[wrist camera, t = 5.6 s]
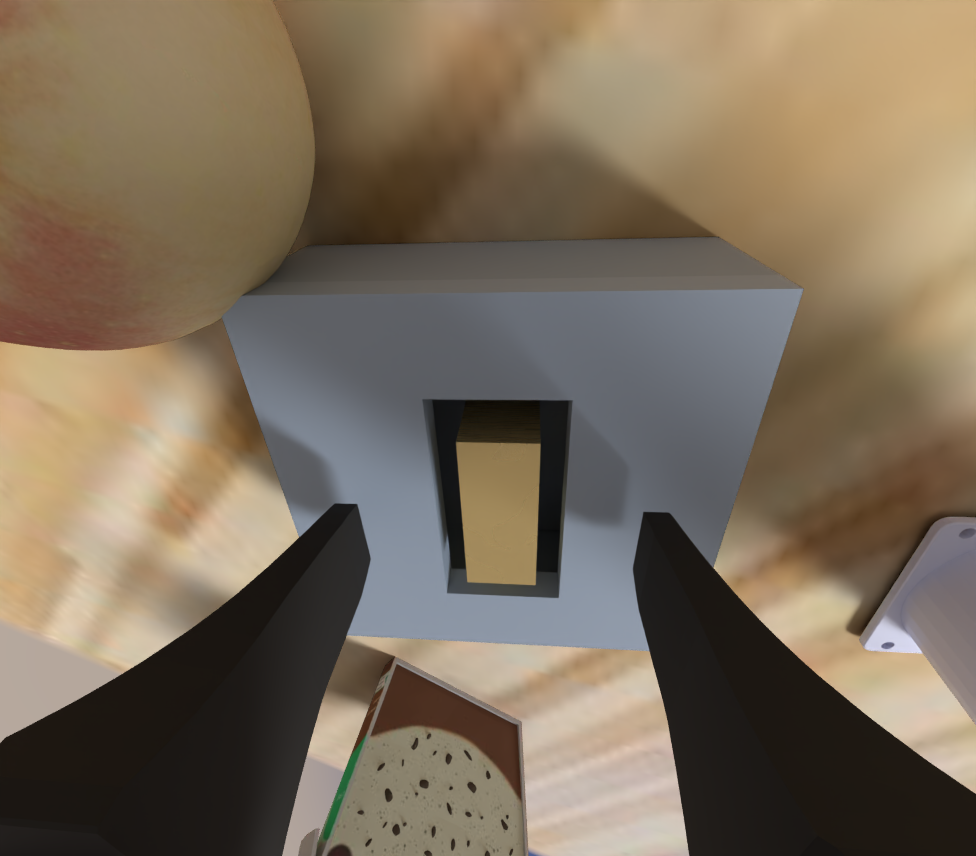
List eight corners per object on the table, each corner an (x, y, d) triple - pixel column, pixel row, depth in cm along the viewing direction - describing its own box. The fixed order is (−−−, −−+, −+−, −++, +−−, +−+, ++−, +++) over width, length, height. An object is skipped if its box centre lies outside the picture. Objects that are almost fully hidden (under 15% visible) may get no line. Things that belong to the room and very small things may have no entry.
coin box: (718, 236, 13) (803, 288, 9) (653, 540, 20) (685, 652, 16) (307, 245, 14) (214, 295, 10) (373, 531, 21) (333, 634, 17)
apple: (67, 239, 15) (-327, 339, 8) (-37, -200, 10) (-1287, -908, 3) (346, 312, 15) (201, 464, 8) (378, -66, 10) (96, -412, 4)
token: (538, 355, 15) (540, 443, 11) (534, 477, 18) (535, 585, 14) (476, 355, 15) (455, 442, 11) (482, 475, 18) (467, 582, 14)
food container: (318, 686, 28) (229, 921, 20) (372, 644, 26) (294, 898, 17) (477, 760, 32) (457, 986, 24) (539, 731, 29) (542, 975, 21)
